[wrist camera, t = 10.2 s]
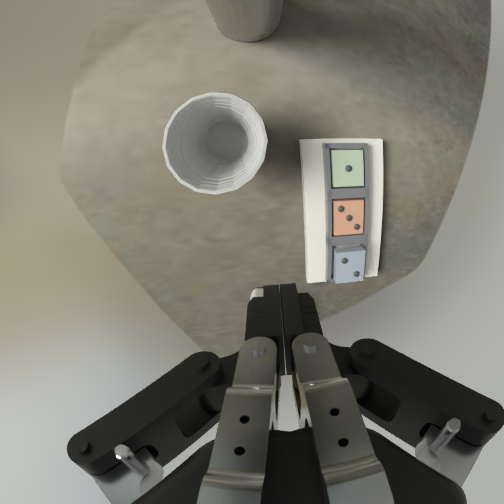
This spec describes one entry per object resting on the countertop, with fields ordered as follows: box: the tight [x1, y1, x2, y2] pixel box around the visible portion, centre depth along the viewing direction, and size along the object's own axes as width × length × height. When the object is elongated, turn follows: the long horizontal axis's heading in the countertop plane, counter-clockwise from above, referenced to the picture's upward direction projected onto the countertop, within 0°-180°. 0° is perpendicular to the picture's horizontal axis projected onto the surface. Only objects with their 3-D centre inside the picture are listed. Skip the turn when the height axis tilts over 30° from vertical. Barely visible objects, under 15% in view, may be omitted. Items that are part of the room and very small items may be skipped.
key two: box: [333, 246, 366, 283], centre depth 39 cm, size 5×4×2 cm
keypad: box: [299, 138, 383, 283], centre depth 39 cm, size 22×12×4 cm, turn 6°
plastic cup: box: [162, 92, 268, 195], centre depth 31 cm, size 11×11×12 cm
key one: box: [329, 149, 364, 187], centre depth 35 cm, size 5×4×2 cm
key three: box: [332, 198, 364, 236], centre depth 38 cm, size 5×4×2 cm
